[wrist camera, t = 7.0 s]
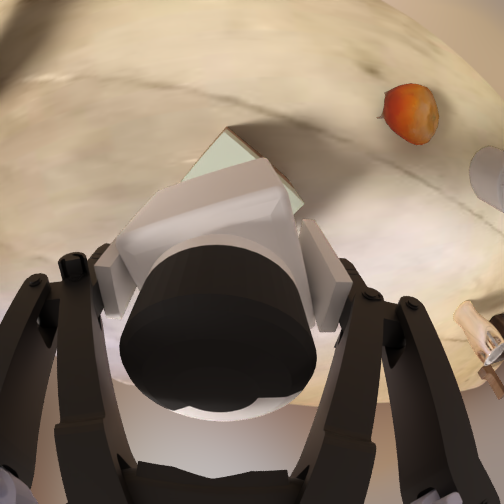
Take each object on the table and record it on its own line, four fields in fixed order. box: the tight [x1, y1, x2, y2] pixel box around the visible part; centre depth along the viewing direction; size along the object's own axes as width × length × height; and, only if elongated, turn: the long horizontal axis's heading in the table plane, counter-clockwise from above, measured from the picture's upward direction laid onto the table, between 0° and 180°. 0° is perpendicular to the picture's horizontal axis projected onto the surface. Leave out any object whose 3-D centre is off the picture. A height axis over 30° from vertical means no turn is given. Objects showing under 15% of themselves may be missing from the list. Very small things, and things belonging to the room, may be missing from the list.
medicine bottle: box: [115, 158, 317, 421], centre depth 12 cm, size 7×7×12 cm
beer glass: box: [453, 300, 504, 366], centre depth 43 cm, size 7×7×15 cm
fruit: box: [377, 83, 439, 145], centre depth 28 cm, size 8×8×8 cm
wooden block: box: [478, 365, 504, 399], centre depth 60 cm, size 7×3×15 cm, turn 79°
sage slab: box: [181, 129, 304, 215], centre depth 28 cm, size 10×10×5 cm
